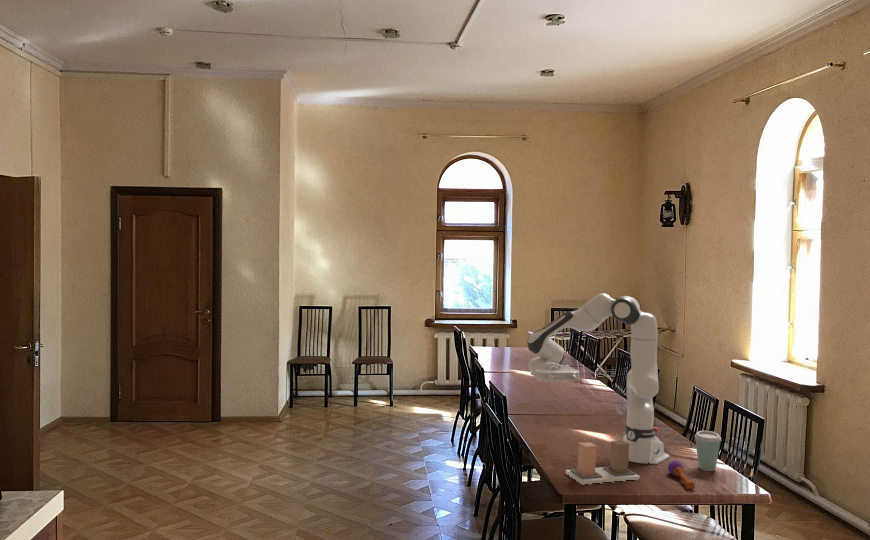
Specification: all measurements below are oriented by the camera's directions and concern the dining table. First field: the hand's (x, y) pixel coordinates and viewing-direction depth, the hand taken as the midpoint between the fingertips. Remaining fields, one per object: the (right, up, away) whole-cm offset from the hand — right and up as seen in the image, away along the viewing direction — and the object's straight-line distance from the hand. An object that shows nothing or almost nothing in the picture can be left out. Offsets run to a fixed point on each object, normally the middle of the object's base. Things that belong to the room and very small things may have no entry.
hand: (565, 378), depth 297 cm
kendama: (+43, -38, -20) cm, 60 cm away
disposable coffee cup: (+59, -38, -3) cm, 70 cm away
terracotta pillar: (+4, -35, -21) cm, 41 cm away
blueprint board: (+11, -36, -19) cm, 42 cm away
